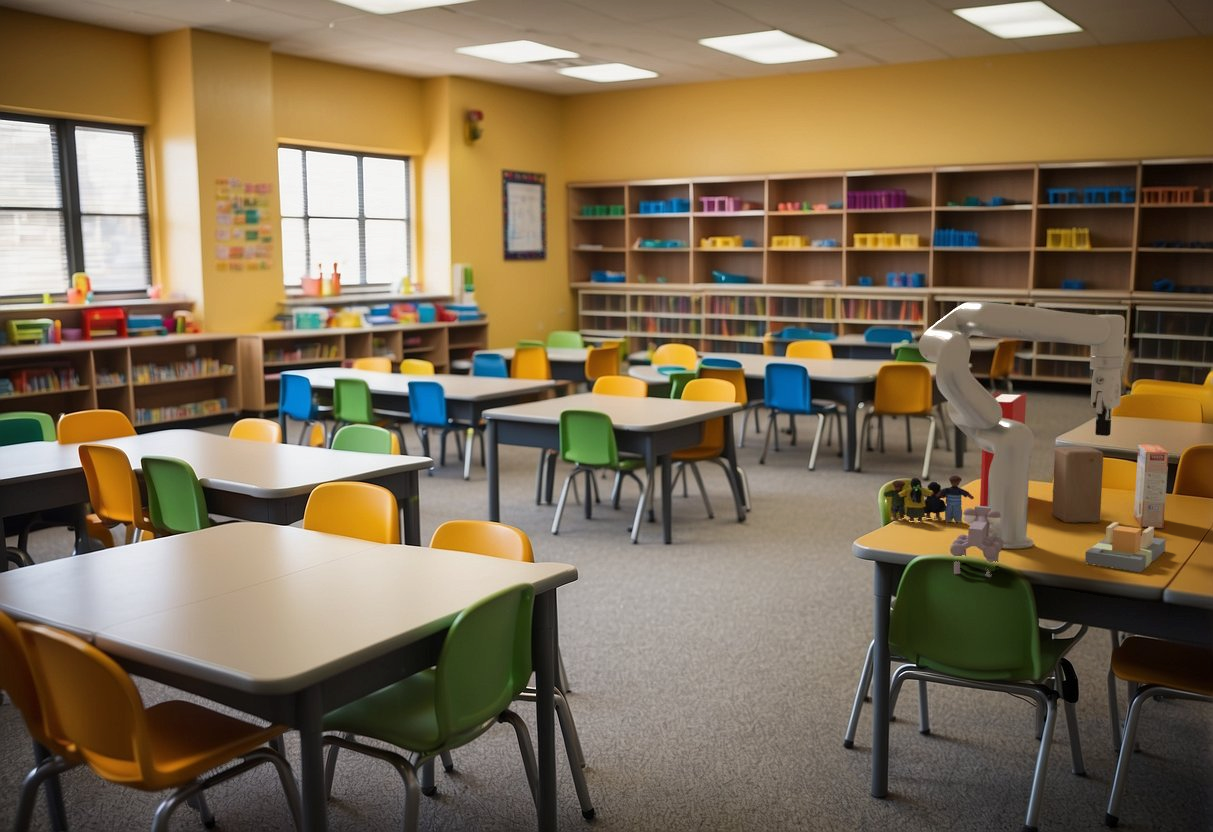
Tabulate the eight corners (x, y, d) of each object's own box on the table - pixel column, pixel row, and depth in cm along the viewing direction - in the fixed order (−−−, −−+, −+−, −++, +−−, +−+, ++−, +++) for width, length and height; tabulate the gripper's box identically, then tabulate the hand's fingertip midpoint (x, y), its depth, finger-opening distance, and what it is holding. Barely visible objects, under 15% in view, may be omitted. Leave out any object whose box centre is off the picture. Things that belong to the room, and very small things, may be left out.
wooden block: (1101, 523, 296) (1105, 451, 293) (1064, 523, 296) (1068, 451, 293) (1086, 515, 306) (1089, 445, 303) (1050, 515, 306) (1053, 445, 303)
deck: (1140, 572, 248) (1141, 542, 247) (1085, 564, 255) (1086, 535, 254) (1165, 551, 266) (1166, 523, 265) (1113, 543, 274) (1114, 516, 273)
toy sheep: (959, 553, 266) (964, 499, 264) (1005, 560, 262) (1010, 505, 259) (946, 573, 248) (951, 516, 246) (995, 581, 244) (1000, 522, 242)
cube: (1134, 553, 253) (1136, 532, 252) (1111, 550, 256) (1113, 529, 255) (1140, 549, 257) (1141, 528, 256) (1117, 546, 260) (1118, 525, 259)
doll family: (962, 516, 306) (964, 470, 304) (974, 524, 297) (976, 476, 295) (882, 518, 305) (883, 471, 303) (891, 525, 296) (892, 477, 294)
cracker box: (1165, 529, 288) (1169, 452, 285) (1140, 528, 290) (1144, 451, 287) (1157, 518, 301) (1161, 444, 299) (1133, 516, 303) (1137, 443, 301)
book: (994, 493, 337) (998, 391, 333) (1021, 495, 333) (1026, 392, 329) (979, 510, 314) (982, 400, 309) (1008, 512, 310) (1012, 402, 306)
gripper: (1114, 366, 265) (1110, 440, 268) (1130, 362, 277) (1126, 432, 279) (1082, 364, 270) (1078, 437, 272) (1099, 360, 281) (1095, 430, 284)
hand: (1102, 434), depth 276 cm, fingers closed
